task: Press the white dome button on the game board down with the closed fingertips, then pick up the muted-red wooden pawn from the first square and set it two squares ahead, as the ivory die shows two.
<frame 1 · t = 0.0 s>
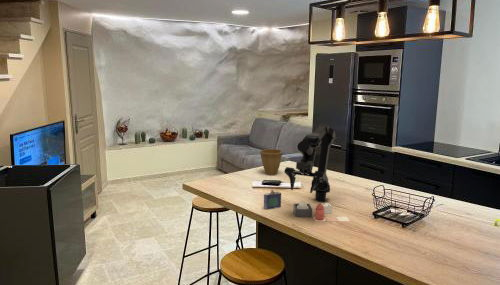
hand: (301, 191, 171), 15 cm above the kitchen island, tool tilted 35°, fingers open, 9 cm apart
dome: (302, 206, 179), point 5 cm above the kitchen island, slide at 0.0 cm
board: (319, 218, 177), on the kitchen island
die: (326, 212, 182), point 1 cm above the kitchen island, touching board
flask: (272, 210, 189), on the kitchen island
plant pot: (270, 174, 255), on the kitchen island
pawn: (319, 218, 173), point 1 cm above the kitchen island, touching board
button housing: (302, 216, 180), resting on board
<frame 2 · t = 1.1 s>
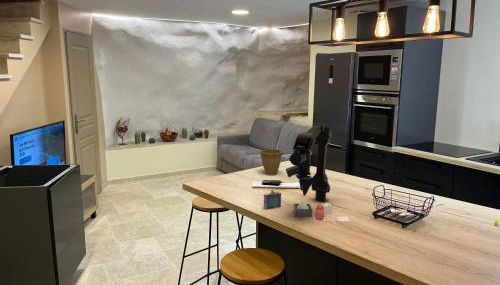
hand: (303, 192, 178), 12 cm above the kitchen island, tool pointing down, fingers open, 7 cm apart
nothing on the kitchen island moved.
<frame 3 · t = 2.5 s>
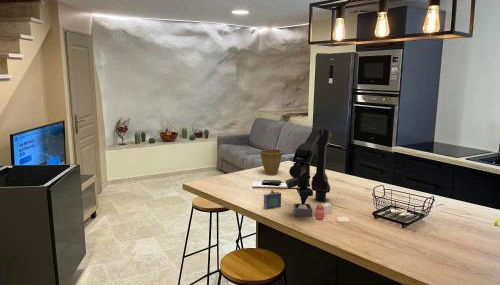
hand: (302, 204, 179), 6 cm above the kitchen island, tool pointing down, fingers closed, pressing on dome
dome: (302, 208, 179), point 4 cm above the kitchen island, slide at 1.1 cm, touching gripper
everything else where it was.
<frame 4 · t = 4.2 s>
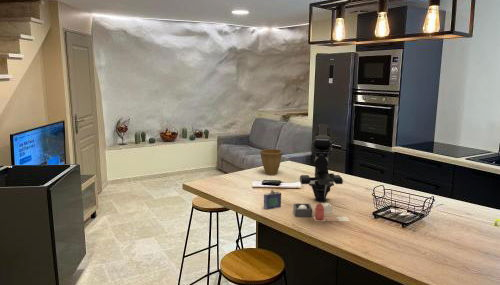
hand: (320, 197, 171), 12 cm above the kitchen island, tool pointing down, fingers open, 4 cm apart
dome: (302, 209, 179), point 4 cm above the kitchen island, slide at 1.5 cm
everything else where it was.
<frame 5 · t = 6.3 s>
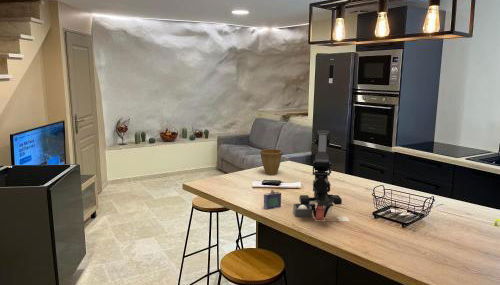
hand: (319, 217, 173), 2 cm above the kitchen island, tool pointing down, fingers closed on pawn, 4 cm apart
pawn: (319, 218, 173), point 2 cm above the kitchen island, touching board, gripper
everything else where it was.
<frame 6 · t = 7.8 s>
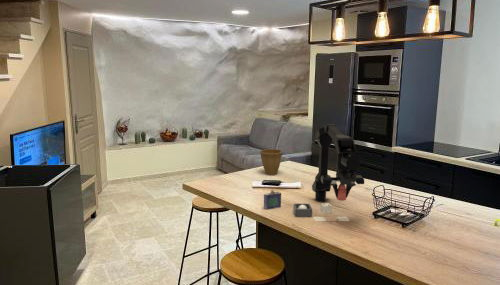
hand: (341, 197, 171), 12 cm above the kitchen island, tool pointing down, fingers closed on pawn, 4 cm apart
pawn: (341, 199, 171), point 11 cm above the kitchen island, touching gripper
everything else where it was.
when the fingers open (4 cm above the kitchen island, at t = 9.7 s): pawn drops 1 cm, resting on board.
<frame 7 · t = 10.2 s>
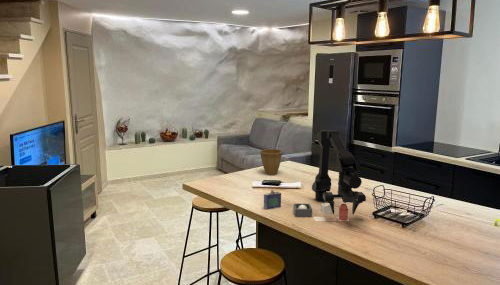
hand: (343, 214, 173), 4 cm above the kitchen island, tool pointing down, fingers open, 9 cm apart
pawn: (343, 218, 173), point 2 cm above the kitchen island, touching board
everything else where it was.
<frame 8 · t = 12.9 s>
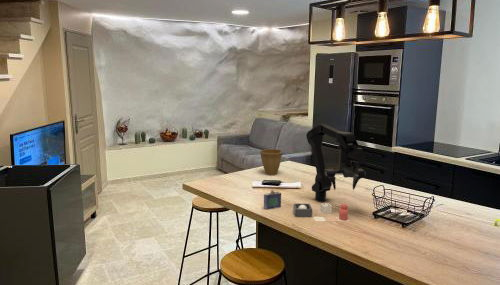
hand: (344, 189, 183), 12 cm above the kitchen island, tool pointing down, fingers open, 9 cm apart
nothing on the kitchen island moved.
at the end: dome slide at 1.5 cm; pawn 0.1 cm from the target spot, point 1.6 cm above the kitchen island; pawn tilted 2° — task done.
